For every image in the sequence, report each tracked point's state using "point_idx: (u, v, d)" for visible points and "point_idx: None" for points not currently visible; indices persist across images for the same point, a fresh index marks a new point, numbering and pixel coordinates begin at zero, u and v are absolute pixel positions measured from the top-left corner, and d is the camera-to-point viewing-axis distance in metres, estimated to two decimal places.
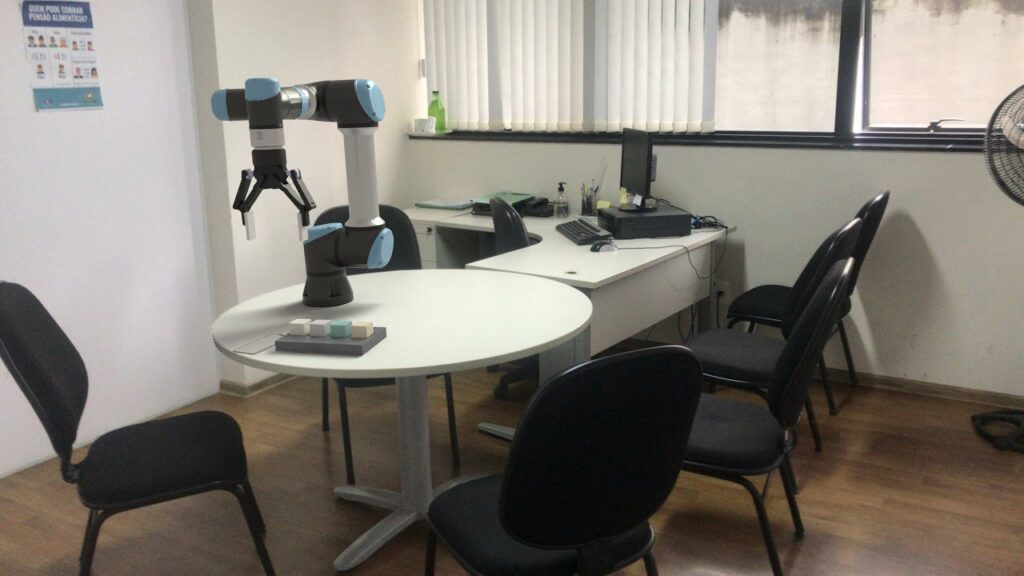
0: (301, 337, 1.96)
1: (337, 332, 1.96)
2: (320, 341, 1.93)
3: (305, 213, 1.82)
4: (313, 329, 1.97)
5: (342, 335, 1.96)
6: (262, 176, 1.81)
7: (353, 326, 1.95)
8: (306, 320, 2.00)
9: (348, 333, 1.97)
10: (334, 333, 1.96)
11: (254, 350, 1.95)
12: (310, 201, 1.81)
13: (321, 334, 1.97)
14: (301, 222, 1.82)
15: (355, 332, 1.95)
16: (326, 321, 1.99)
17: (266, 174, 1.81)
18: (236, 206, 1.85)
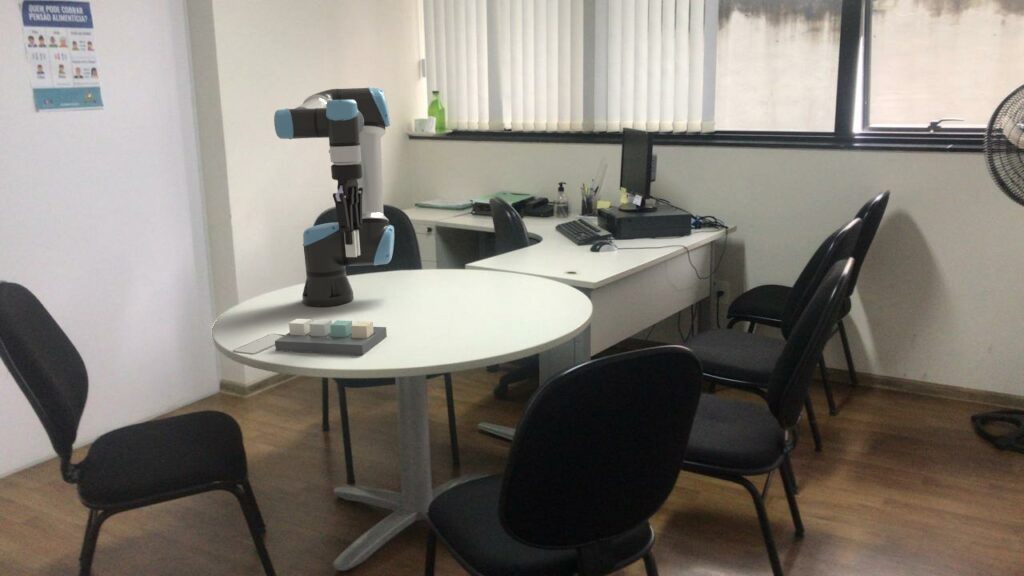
0: (301, 337, 1.96)
1: (337, 332, 1.96)
2: (320, 341, 1.93)
3: None
4: (313, 329, 1.97)
5: (342, 335, 1.96)
6: None
7: (353, 326, 1.95)
8: (306, 320, 2.00)
9: (348, 333, 1.97)
10: (334, 333, 1.96)
11: (254, 350, 1.95)
12: (341, 224, 1.97)
13: (321, 334, 1.97)
14: None
15: (355, 332, 1.95)
16: (326, 321, 1.99)
17: None
18: None
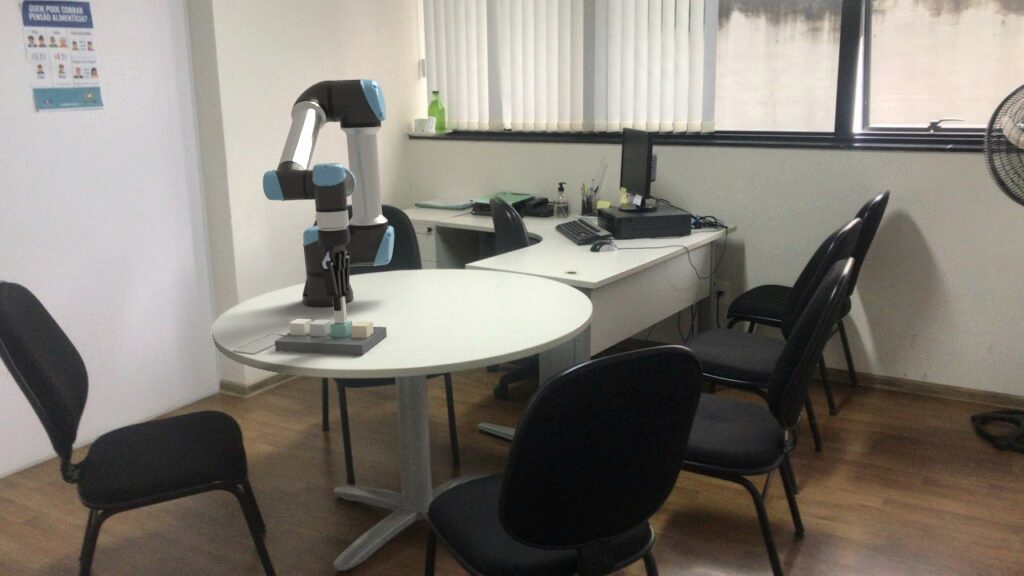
0: (301, 337, 1.96)
1: (337, 332, 1.96)
2: (320, 341, 1.93)
3: None
4: (313, 329, 1.97)
5: (342, 335, 1.96)
6: None
7: (353, 326, 1.95)
8: (306, 320, 2.00)
9: (348, 333, 1.97)
10: (334, 333, 1.96)
11: (254, 350, 1.95)
12: (329, 291, 1.91)
13: (321, 334, 1.97)
14: None
15: (355, 332, 1.95)
16: (326, 321, 1.99)
17: None
18: None
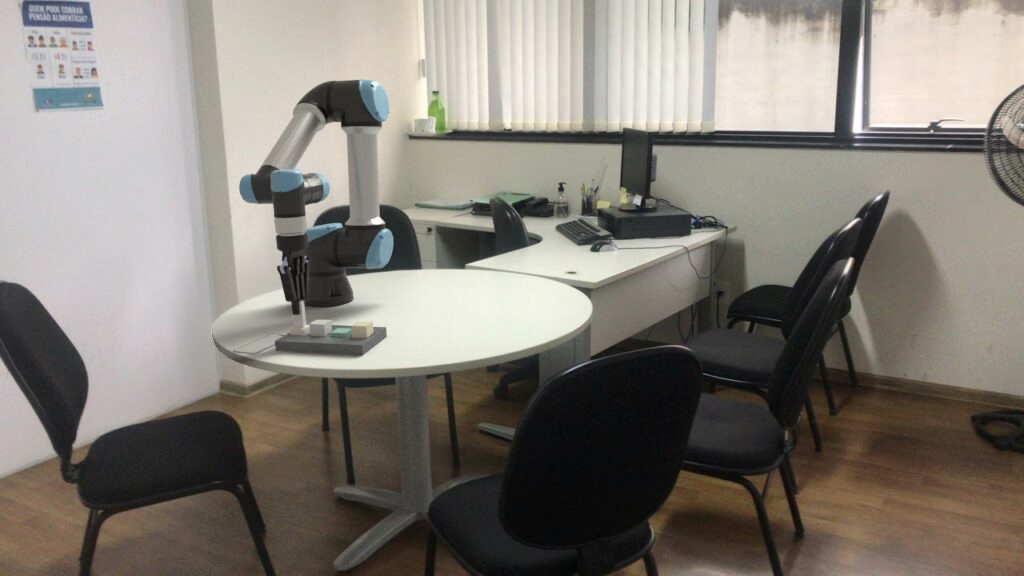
0: (301, 337, 1.96)
1: None
2: (320, 341, 1.93)
3: None
4: (313, 329, 1.97)
5: None
6: None
7: (353, 326, 1.95)
8: (307, 325, 2.01)
9: None
10: None
11: (254, 350, 1.95)
12: (287, 295, 1.94)
13: (321, 334, 1.97)
14: None
15: (355, 332, 1.95)
16: (326, 321, 1.99)
17: None
18: None
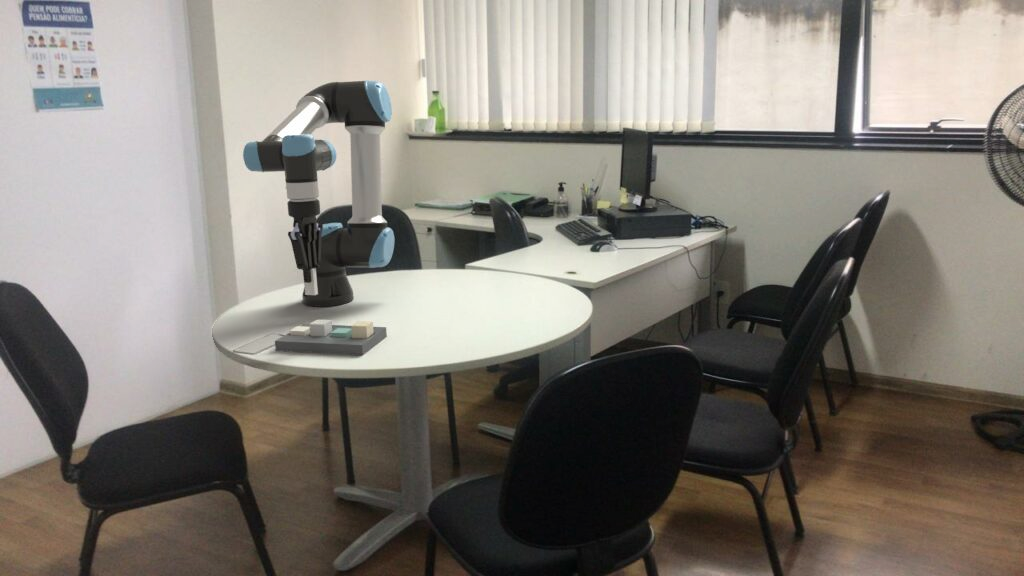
0: (301, 337, 1.96)
1: None
2: (320, 341, 1.93)
3: None
4: (313, 329, 1.97)
5: None
6: None
7: (353, 326, 1.95)
8: (307, 328, 2.01)
9: None
10: None
11: (254, 350, 1.95)
12: (298, 262, 1.91)
13: (321, 334, 1.97)
14: None
15: (355, 332, 1.95)
16: (326, 321, 1.99)
17: None
18: None
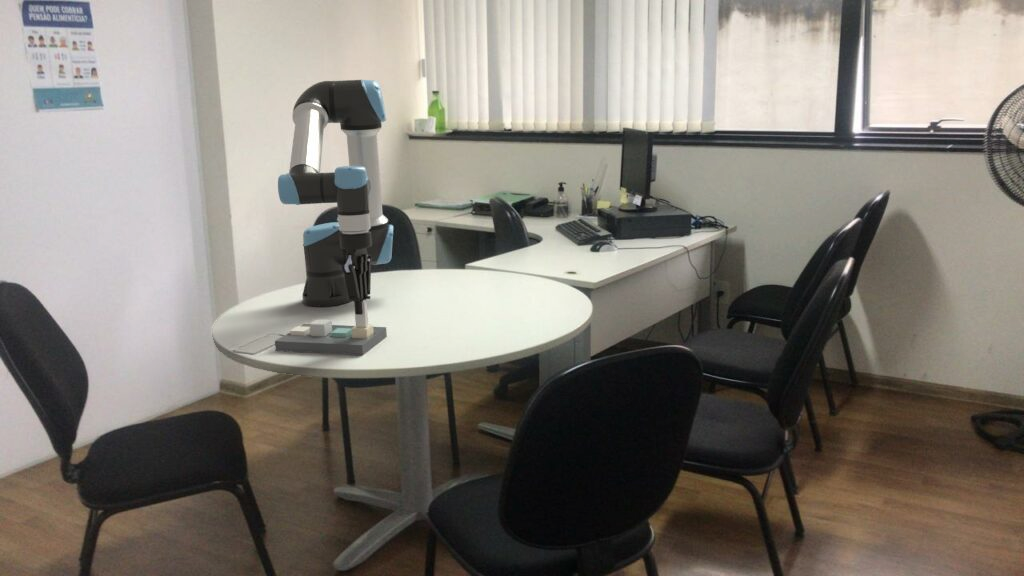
0: (301, 337, 1.96)
1: None
2: (320, 341, 1.93)
3: None
4: (313, 329, 1.97)
5: None
6: None
7: (353, 329, 1.95)
8: (307, 328, 2.01)
9: None
10: None
11: (254, 350, 1.95)
12: (351, 295, 1.90)
13: (321, 334, 1.97)
14: None
15: (355, 335, 1.95)
16: (326, 321, 1.99)
17: None
18: None
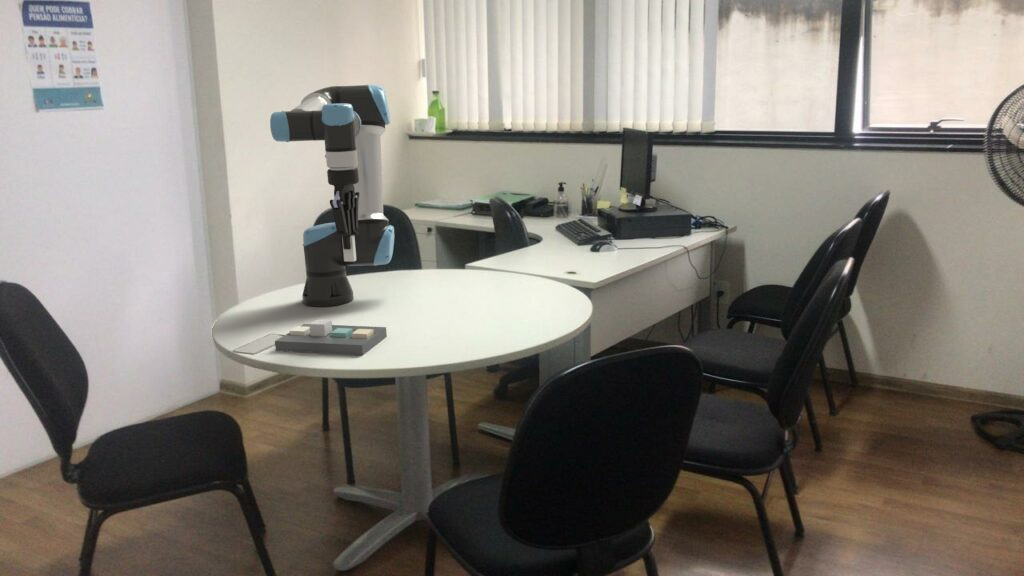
0: (301, 337, 1.96)
1: None
2: (320, 341, 1.93)
3: None
4: (313, 329, 1.97)
5: None
6: None
7: (354, 334, 1.95)
8: (307, 328, 2.01)
9: None
10: None
11: (254, 350, 1.95)
12: (339, 230, 1.96)
13: (321, 334, 1.97)
14: None
15: None
16: (326, 321, 1.99)
17: None
18: None
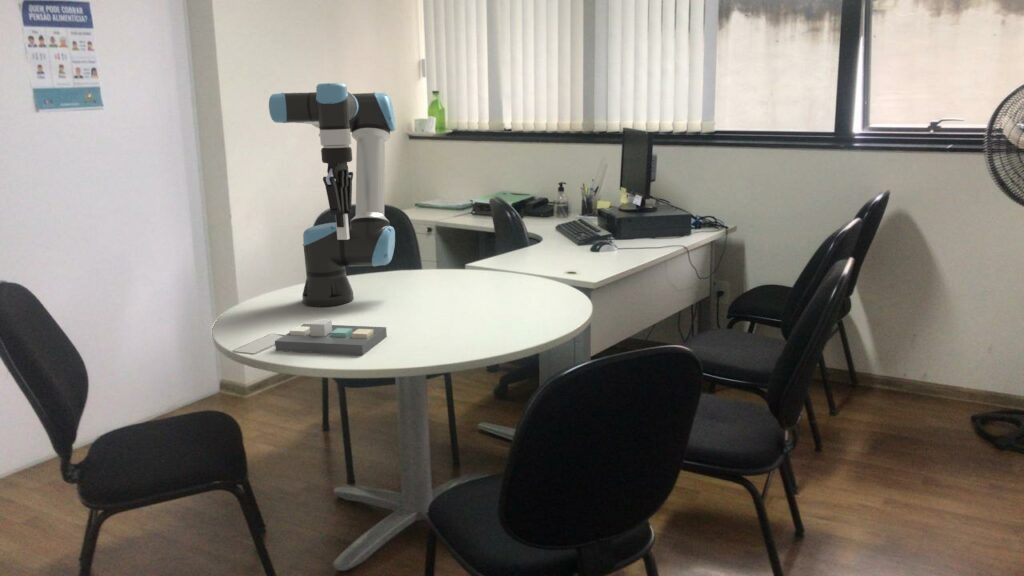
0: (301, 337, 1.96)
1: None
2: (320, 341, 1.93)
3: None
4: (313, 329, 1.97)
5: None
6: None
7: (354, 334, 1.95)
8: (307, 328, 2.01)
9: None
10: None
11: (254, 350, 1.95)
12: (332, 207, 1.99)
13: (321, 334, 1.97)
14: None
15: None
16: (326, 321, 1.99)
17: None
18: None
